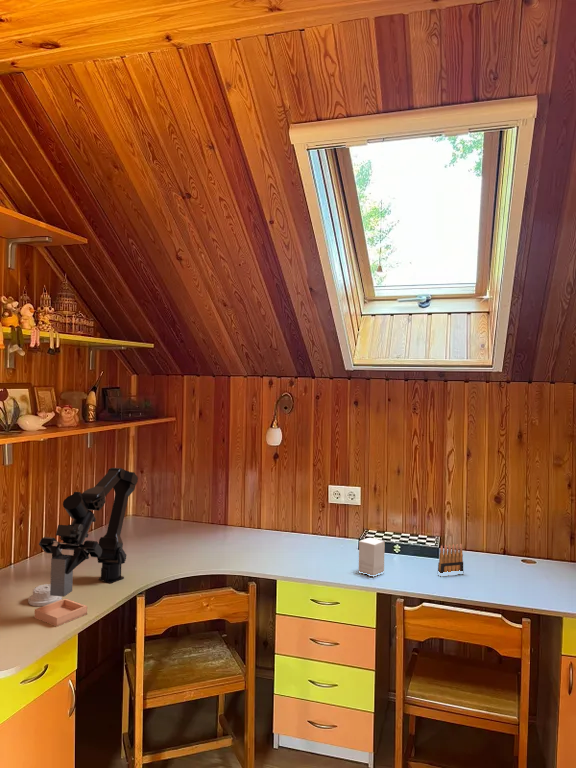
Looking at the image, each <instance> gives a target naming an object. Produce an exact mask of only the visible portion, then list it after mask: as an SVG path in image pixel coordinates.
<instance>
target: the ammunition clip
mask: <svg viewBox="0 0 576 768" xmlns="http://www.w3.org/2000/svg"><path fill="white" fill-rule="evenodd" d="M463 556H464V554H463V545H462V543H460V544H458V543H456V545H455V544H454V543H453V544H452V546H451V544H448V546H447V544H445V545H444V547H443V544H442V545H440V549H439V557H438V558H439V559H438V560H439V562H438V564H437V572H438V571H439V572H440V573H443V572H447V571H448V572H451V571H459V570H460V571H463V572H464V561H463V560H464V559H463V558H464V557H463Z"/></svg>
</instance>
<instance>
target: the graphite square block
mask: <svg viewBox="0 0 576 768" xmlns="http://www.w3.org/2000/svg"><path fill="white" fill-rule="evenodd" d="M72 557H73V554H63V553H62V554H59V555H57V556H55V557H54V558H52V557H51V558H50V584H51V586H50V595H52V596H62V598H63V597H66V596H67V595H69V594H71V592H73V577H74V576H73V575H74V573H73V572H74V569H73V570H72V571H71V572H70V573H69V574H66V571H67V568H68V565H69V563H70V561H71V559H72Z"/></svg>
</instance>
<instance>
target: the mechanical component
mask: <svg viewBox="0 0 576 768" xmlns="http://www.w3.org/2000/svg"><path fill="white" fill-rule="evenodd" d="M50 586H51V583H48V584H47V583H44V584H39V585H38V586H34V588H33V589H32V594H31V595H29V597H28V601H27V602H28V604H29V605H30V606H33V607H43V606H45V605H48V604H51V603H54V602H56V601H59V600H62V598H63V597H62V596H52V595H50Z"/></svg>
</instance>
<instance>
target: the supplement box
mask: <svg viewBox="0 0 576 768" xmlns="http://www.w3.org/2000/svg"><path fill="white" fill-rule="evenodd" d="M385 548H386V547H385V540H382V539H377V538H373V537H367V538H364V539H361V540H359V541H358V572H359V571H360V572H363V573H367V574H370V575H376V574H378V573H381V572H383V571H384V572H385V550H386V549H385Z"/></svg>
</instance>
